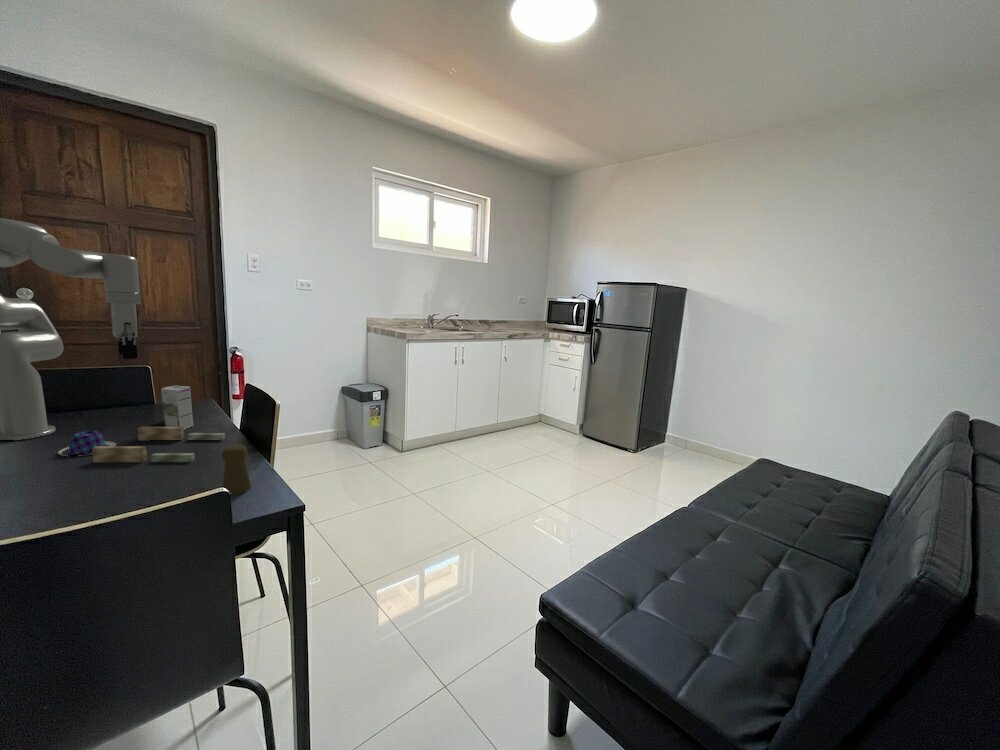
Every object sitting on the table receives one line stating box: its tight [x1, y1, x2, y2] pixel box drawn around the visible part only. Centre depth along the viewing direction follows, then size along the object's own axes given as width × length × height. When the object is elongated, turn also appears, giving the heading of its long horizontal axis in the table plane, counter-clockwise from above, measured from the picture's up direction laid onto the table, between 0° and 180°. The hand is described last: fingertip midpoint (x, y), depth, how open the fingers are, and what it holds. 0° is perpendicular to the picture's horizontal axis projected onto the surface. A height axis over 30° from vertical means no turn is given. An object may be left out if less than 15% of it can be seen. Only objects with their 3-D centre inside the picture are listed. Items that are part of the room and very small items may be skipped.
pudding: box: [57, 430, 117, 457], centre depth 120 cm, size 12×12×5 cm
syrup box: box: [160, 385, 194, 431], centre depth 140 cm, size 6×6×14 cm
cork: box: [221, 444, 252, 496], centre depth 101 cm, size 6×6×11 cm
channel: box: [91, 426, 226, 463], centre depth 123 cm, size 24×19×4 cm
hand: (128, 356), depth 124 cm, fingers open, 9 cm apart
